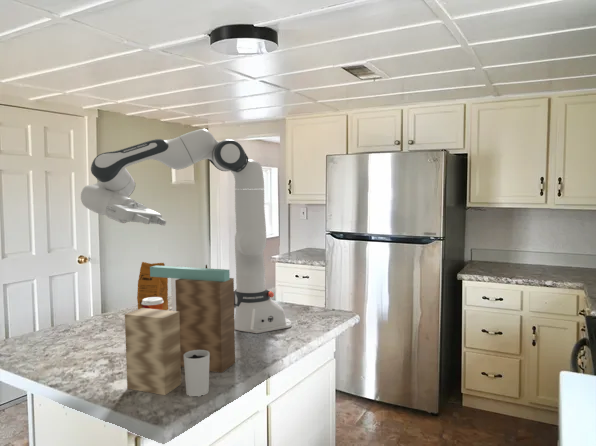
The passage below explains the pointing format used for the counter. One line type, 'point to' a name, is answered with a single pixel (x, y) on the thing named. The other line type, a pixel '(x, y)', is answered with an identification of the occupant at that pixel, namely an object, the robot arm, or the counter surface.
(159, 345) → the zigzag patterned block
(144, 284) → the coffee package
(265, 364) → the counter surface
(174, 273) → the rail
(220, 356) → the post
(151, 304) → the paper cup
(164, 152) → the robot arm
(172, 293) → the milk
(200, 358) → the white coffee cup
